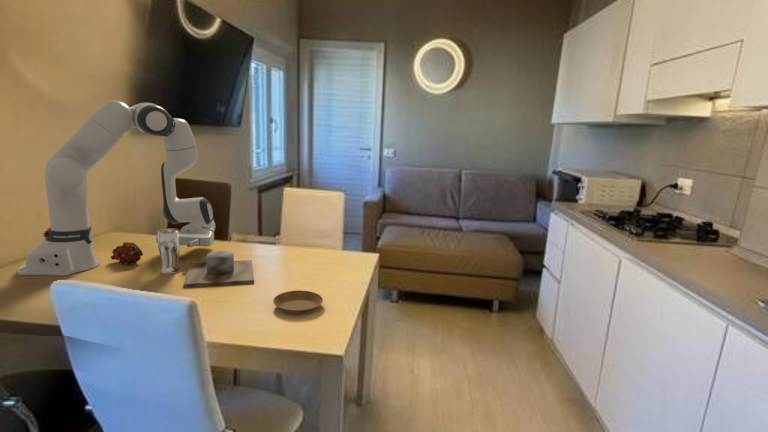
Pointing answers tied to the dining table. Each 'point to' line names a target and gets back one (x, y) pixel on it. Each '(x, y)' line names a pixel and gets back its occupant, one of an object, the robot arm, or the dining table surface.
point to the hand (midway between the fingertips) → (176, 244)
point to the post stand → (219, 271)
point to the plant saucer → (298, 302)
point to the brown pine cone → (127, 253)
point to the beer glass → (169, 250)
